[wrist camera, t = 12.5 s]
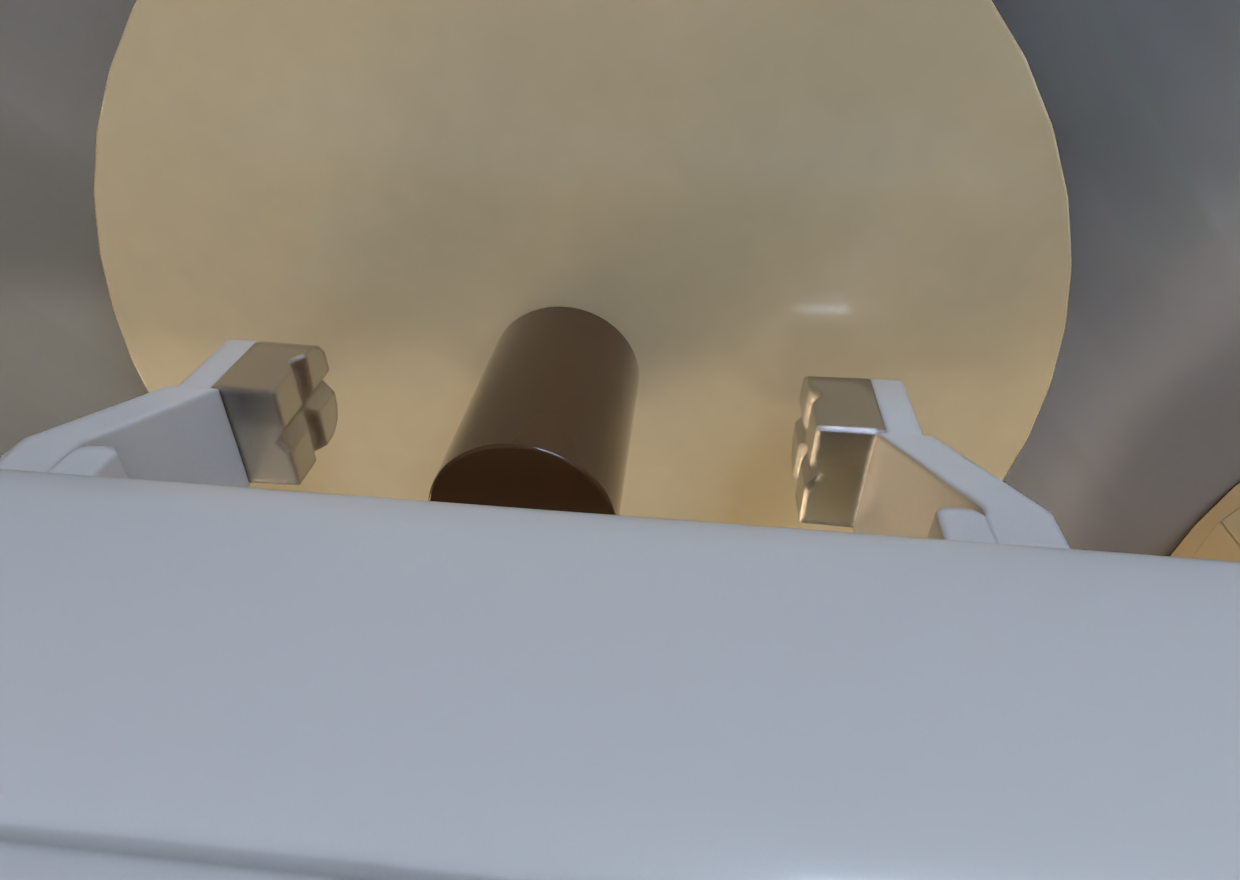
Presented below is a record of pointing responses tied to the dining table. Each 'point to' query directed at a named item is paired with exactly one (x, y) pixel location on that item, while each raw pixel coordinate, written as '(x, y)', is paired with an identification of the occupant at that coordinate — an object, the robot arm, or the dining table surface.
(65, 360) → the dining table surface
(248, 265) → the pan lid
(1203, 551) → the pan
